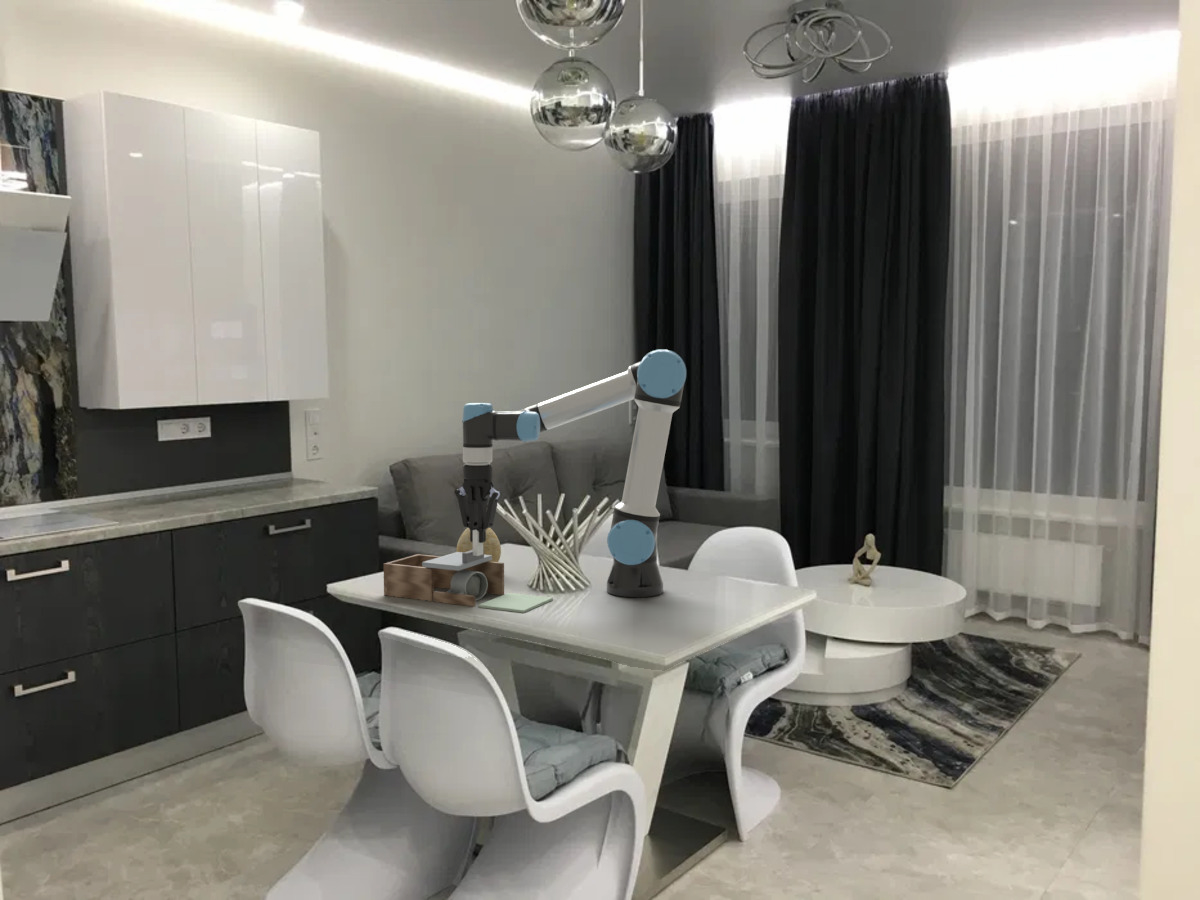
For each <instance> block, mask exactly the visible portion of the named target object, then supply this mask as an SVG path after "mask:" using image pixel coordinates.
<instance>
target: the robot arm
mask: <svg viewBox="0 0 1200 900" xmlns="http://www.w3.org/2000/svg"><path fill="white" fill-rule="evenodd" d="M686 379H687V367H686V363H685V361H684V360H683V358H682V357H681V356H680V355H679V354H677V352H675V351H673V350H668V349H667V348H666V349H664V348H663V349H661V348H659V349H655V350H654V349H653V350H652V351H650V352H648V353H646V354H645V355H644V356H643V358H642V359H641V360H640V361H638V362H636V363H634V364H631V365H629V366H628V367H627V370H626V371H623V372H621V373H618V374H615V375H613V376H612V375H611V376H610V377H607V378H604V379H601V380H598V381H597V382H593V383H590V384H588V385H585V386H582V387H580V388H577V389H574V390H571V391H569V392H566V393H563V394H561V395H557V396H555V397H552V398H549V399H547V400H544V401H541V402H539V403H537V404H533V405H530V406H528V407H525V408H522V409H519V410H513V411H512V410H509V411H508V410H506V411H502V410H501V411H499V410H494V408H493V404H492V403H489V402H469V403H465V404H464V405H463V410H462V411H463V412H462V462H463V463H464V464H463V465H462V478H463V482H462V486H461V487H460V488H457V489H454V495H455V496H456V498H457V501H458V506H459V511H460V516H461V520H462V526H463V527H465V528H469V529H470V541H471V542H473V556H479V555H482V554H483V542H485V541H486V529H487V528H492V527H493V526H494V521H495V517H496V511H497V508H498V503H499V500H500V498H501V496H502V491H499V490H496V489H495V487H494V484H493V481H492V480H493V477H494V476H493V475H494V474H493V472H494V471H493V467H494V466H493V465H492V464H491V463H492V462H493V441H506V442H507V441H508V442H524V443H526V442H535V441H538V439H539V438H540V434H541V433H544V432H546V431H549V430H552V429H554V428H557V427H559V426H562V425H563V426H564V425H565V424H567V423H572V422H573V421H576V420H580V419H582V418H585V417H587V416H588V417H589V416H591V415H593V414H596V413H599V412H601V411H604V410H608V409H610V408H613V407H615V406H619V405H622V404H624V403H626V402H630V401H632V400H634V402H635V404H636V405H637V407H638V408H637V414H636V421H635V426H634V431H633V438H632V442H631V447H630V452H629V453H630V454H629V459H628V464H627V471H626V476H625V481H624V486H623V487H624V488H623V493H622V497H621V498H622V499H621V501H620V502H618V503H617V504H615V505H614V507H613V514H612V519H611V525H610V529H609V532H608V534H607V540H606V543H607V547H608V550H609V553H610V554H611V556H612V557H613V559H612V560H613V562H612V566H611V568H610V572H609V574H608V578H607V581H606V592H607V593H608V594H610V595H614V596H618V597H625V598H645V597H646V598H647V597H648V598H649V597H655V596H658V595H661V594H662V593H663V592H664V582H663V579H662V578H663V577H662V576H661V572H660V570H659V566H658V558H657V557H658V527H659V521H660V516H661V513H660V512H659V510H658V509H657V507H656V504H657V499H658V495H659V490H660V489H659V488H660V483H661V478H662V473H663V467H664V462H665V457H666V456H665V454H666V450H667V446H668V439H669V435H670V431H671V424H672V423H671V422H672V419H673V418H672V417H673V414H674V412H676V411H677V410H678V409H680V407H681V403H682V397H683V391H684V388H685V387H684V386H685V383H686ZM488 499H489V500H488ZM487 503H488V505H487Z"/></svg>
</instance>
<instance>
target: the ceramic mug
mask: <svg viewBox="0 0 1200 900" xmlns="http://www.w3.org/2000/svg"><path fill="white" fill-rule="evenodd" d="M450 587H451V589H448V590H447V591H446V592H447V593H455V594H464V595H472V596H475V602H476V601H479V600H482V598H483V597H484V596H486V594H487V593H486V591H487V587H488V582H487V578H486V577H485V575H484V574H483V573H481V572H477V571H467V570H462V571H458V572H456V573H455V574H454V575H453V576H452V578H451V581H450Z"/></svg>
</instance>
